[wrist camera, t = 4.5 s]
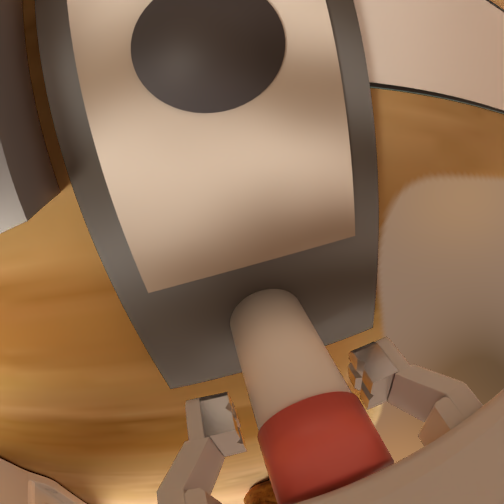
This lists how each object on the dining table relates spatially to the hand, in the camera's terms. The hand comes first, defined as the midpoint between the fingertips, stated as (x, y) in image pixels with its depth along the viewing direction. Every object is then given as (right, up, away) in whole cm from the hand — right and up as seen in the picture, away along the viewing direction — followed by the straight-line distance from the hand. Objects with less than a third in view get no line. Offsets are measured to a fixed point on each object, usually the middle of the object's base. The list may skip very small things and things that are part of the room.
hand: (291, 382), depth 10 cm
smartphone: (+8, +16, 0) cm, 18 cm away
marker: (-1, +2, +3) cm, 4 cm away
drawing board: (-2, +8, +1) cm, 8 cm away
